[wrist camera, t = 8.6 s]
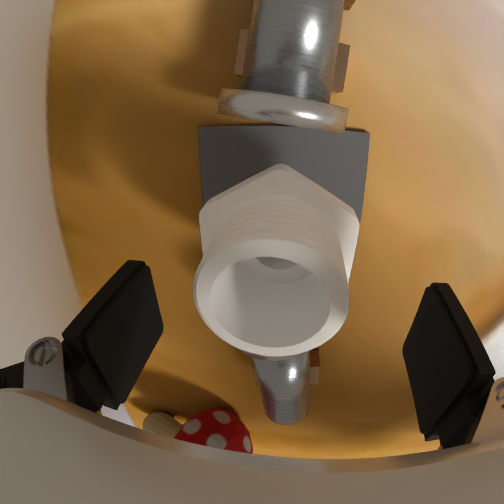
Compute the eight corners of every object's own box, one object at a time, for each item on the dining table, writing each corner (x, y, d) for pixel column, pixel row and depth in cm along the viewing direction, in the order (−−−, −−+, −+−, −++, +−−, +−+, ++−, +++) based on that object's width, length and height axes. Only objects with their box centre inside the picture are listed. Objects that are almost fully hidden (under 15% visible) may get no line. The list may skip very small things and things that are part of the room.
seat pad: (349, 276, 18) (349, 279, 18) (210, 268, 19) (209, 270, 19) (368, 132, 14) (369, 133, 13) (200, 126, 15) (198, 127, 14)
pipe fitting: (346, 150, 14) (391, 212, 7) (332, 267, 17) (343, 376, 11) (224, 144, 15) (158, 199, 8) (230, 259, 18) (191, 361, 12)
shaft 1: (333, 125, 14) (356, 139, 9) (234, 109, 14) (199, 114, 9) (355, -33, 9) (379, -83, 4) (258, -47, 9) (239, -102, 4)
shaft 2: (319, 373, 23) (319, 432, 18) (259, 374, 24) (250, 432, 19) (319, 277, 18) (324, 346, 13) (239, 281, 19) (220, 348, 14)
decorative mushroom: (124, 468, 26) (212, 528, 18) (104, 395, 27) (195, 451, 18) (185, 439, 35) (273, 476, 27) (176, 374, 36) (272, 401, 27)
